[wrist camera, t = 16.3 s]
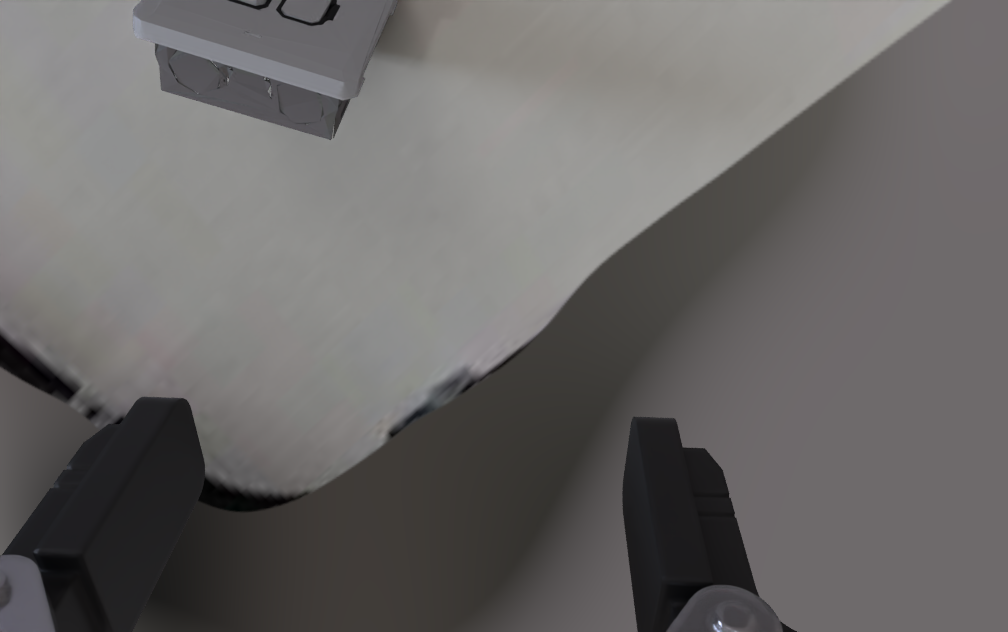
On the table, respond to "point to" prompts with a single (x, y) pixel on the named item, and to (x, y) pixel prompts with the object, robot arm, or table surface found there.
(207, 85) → the electrical switch
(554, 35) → the table surface
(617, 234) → the table surface
